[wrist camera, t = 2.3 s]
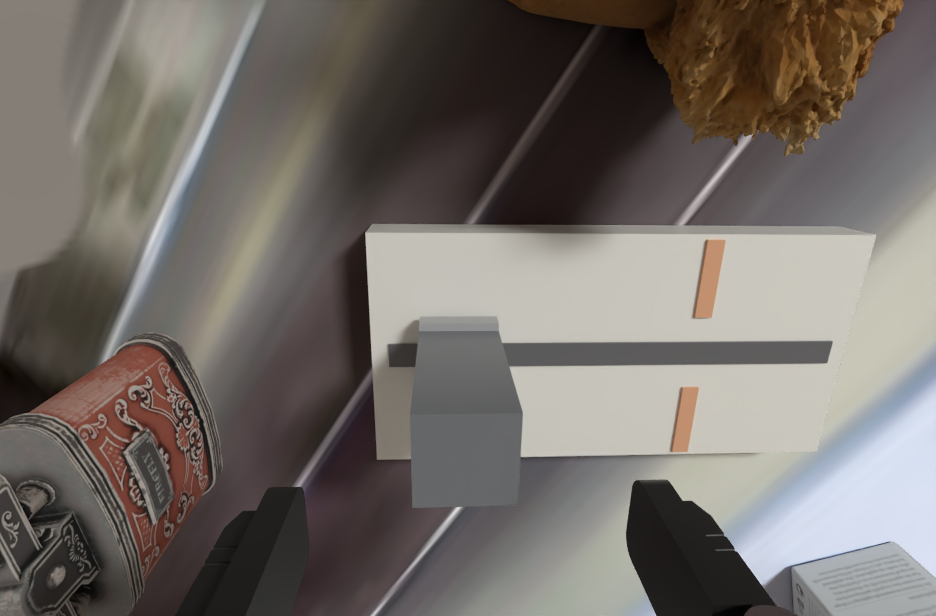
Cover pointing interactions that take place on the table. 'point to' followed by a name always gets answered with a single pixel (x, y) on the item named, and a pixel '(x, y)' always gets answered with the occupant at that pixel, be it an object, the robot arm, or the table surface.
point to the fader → (464, 416)
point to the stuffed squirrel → (749, 57)
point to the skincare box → (864, 585)
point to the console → (628, 329)
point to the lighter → (103, 482)
